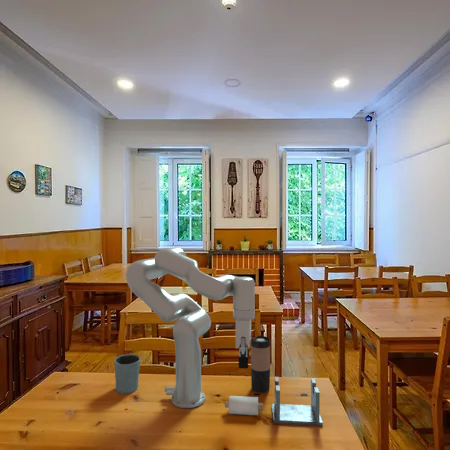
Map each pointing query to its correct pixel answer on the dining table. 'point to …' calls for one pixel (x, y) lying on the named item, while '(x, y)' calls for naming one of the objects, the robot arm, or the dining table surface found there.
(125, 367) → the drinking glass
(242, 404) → the paper roll
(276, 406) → the roll holder
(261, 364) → the travel mug
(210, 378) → the dining table surface
